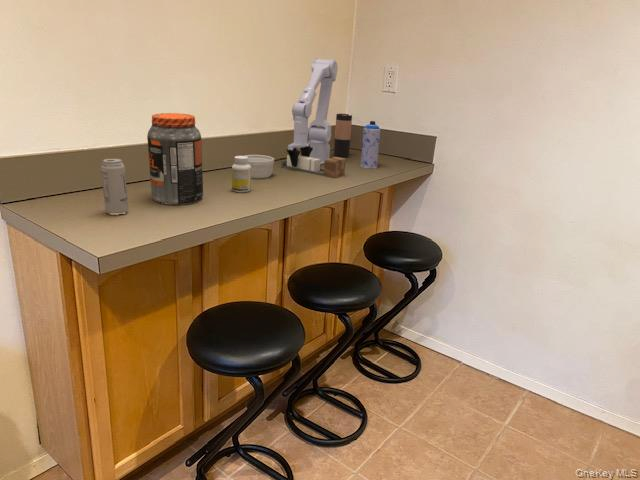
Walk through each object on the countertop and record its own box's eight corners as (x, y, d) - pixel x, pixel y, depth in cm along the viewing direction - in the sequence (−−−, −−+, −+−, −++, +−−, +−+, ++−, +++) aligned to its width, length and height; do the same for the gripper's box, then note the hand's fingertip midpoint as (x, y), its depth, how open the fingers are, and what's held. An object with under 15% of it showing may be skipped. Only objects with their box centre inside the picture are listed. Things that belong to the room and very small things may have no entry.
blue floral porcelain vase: (361, 164, 222) (365, 119, 215) (378, 165, 220) (383, 121, 213) (358, 167, 215) (362, 121, 208) (375, 169, 213) (380, 122, 206)
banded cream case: (293, 165, 210) (293, 153, 208) (319, 170, 203) (320, 158, 201) (286, 167, 206) (287, 155, 204) (313, 172, 199) (314, 160, 197)
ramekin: (251, 181, 180) (252, 162, 178) (233, 174, 190) (233, 156, 187) (280, 177, 189) (280, 159, 186) (261, 170, 198) (261, 153, 195)
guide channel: (291, 164, 212) (291, 158, 211) (333, 173, 201) (334, 167, 200) (281, 167, 206) (281, 161, 205) (324, 175, 195) (324, 169, 194)
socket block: (334, 172, 201) (335, 156, 199) (344, 175, 199) (345, 158, 196) (323, 176, 195) (324, 159, 192) (334, 178, 192) (335, 161, 190)
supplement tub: (149, 193, 157) (144, 111, 148) (199, 191, 163) (196, 112, 154) (153, 207, 143) (147, 118, 134) (207, 204, 149) (205, 119, 140)
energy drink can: (127, 215, 135) (123, 162, 130) (104, 216, 133) (99, 162, 128) (129, 209, 140) (125, 158, 135) (106, 210, 139) (101, 158, 133)
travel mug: (332, 157, 233) (335, 114, 226) (334, 154, 241) (337, 113, 234) (348, 158, 232) (351, 115, 225) (349, 155, 240) (353, 114, 233)
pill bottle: (243, 187, 171) (243, 154, 167) (254, 191, 167) (255, 157, 163) (228, 189, 167) (227, 156, 163) (239, 193, 163) (239, 159, 159)
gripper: (298, 135, 192) (297, 169, 197) (318, 132, 204) (316, 164, 209) (284, 133, 196) (283, 166, 201) (304, 130, 207) (303, 161, 212)
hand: (299, 165), depth 205 cm, fingers open, 7 cm apart
